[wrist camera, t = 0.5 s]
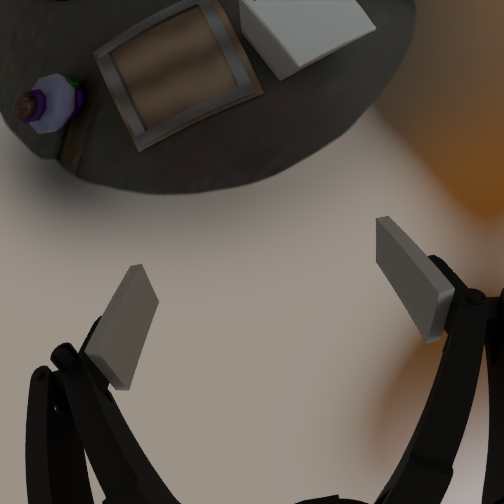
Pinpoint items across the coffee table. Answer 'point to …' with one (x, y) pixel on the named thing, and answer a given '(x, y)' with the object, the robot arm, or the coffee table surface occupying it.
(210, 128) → the coffee table surface
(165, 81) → the jig plate
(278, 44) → the supplement box
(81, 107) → the potion bottle
